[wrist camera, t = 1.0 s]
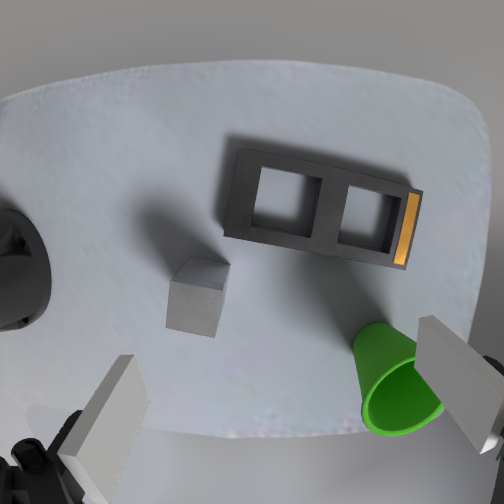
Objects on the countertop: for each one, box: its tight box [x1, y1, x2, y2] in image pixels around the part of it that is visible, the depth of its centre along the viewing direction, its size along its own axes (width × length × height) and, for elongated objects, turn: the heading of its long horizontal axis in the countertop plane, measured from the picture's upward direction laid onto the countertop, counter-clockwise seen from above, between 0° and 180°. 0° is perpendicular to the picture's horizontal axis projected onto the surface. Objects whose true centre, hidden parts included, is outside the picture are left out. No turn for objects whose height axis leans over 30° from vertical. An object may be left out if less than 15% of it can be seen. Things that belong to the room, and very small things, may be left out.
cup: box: [353, 323, 444, 436], centre depth 28 cm, size 9×9×11 cm
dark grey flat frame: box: [223, 148, 423, 270], centre depth 30 cm, size 18×8×2 cm, turn 80°
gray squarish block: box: [166, 257, 231, 338], centre depth 28 cm, size 4×4×8 cm
